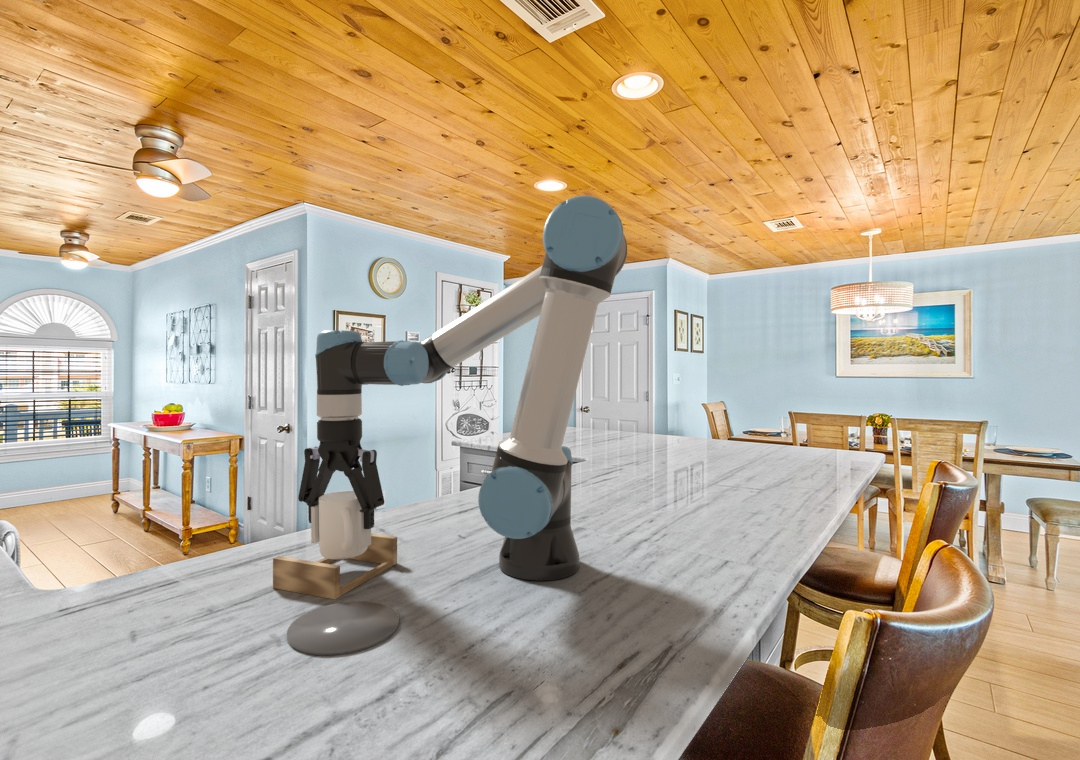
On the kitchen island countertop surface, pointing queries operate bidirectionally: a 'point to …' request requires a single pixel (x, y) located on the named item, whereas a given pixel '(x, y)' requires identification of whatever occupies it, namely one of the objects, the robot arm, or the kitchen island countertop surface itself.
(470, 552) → the kitchen island countertop surface
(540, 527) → the robot arm
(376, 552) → the caddy
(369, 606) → the coaster
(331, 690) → the kitchen island countertop surface
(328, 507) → the mug
